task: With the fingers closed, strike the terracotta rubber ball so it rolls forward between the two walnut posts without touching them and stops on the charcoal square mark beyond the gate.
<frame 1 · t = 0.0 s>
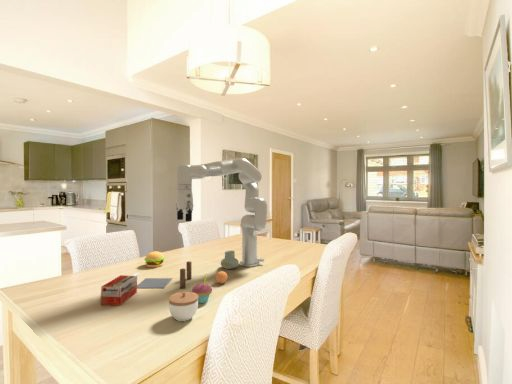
hand: (184, 220, 143), 31 cm above the table, tool pointing down, fingers open, 9 cm apart
post 2: (188, 278, 144), on the table
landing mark: (154, 283, 137), on the table
hamburger: (154, 266, 169), on the table
air freshener: (229, 268, 165), on the table
post 1: (182, 287, 131), on the table
cupcake: (201, 301, 116), on the table
ball: (221, 277, 138), on the table
lidded jar: (183, 318, 101), on the table
medicine box: (120, 299, 118), on the table
stopper wall: (130, 283, 137), on the table
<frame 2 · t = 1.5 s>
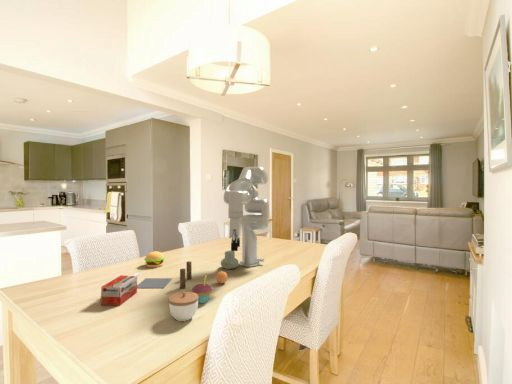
hand: (235, 248, 138), 18 cm above the table, tool pointing down, fingers open, 9 cm apart
nothing on the table moved.
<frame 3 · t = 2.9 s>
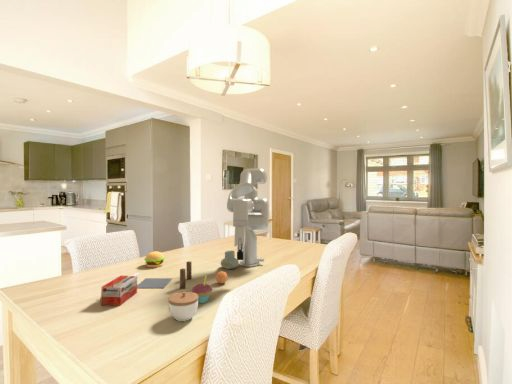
hand: (240, 259, 137), 12 cm above the table, tool pointing down, fingers closed
nothing on the table moved.
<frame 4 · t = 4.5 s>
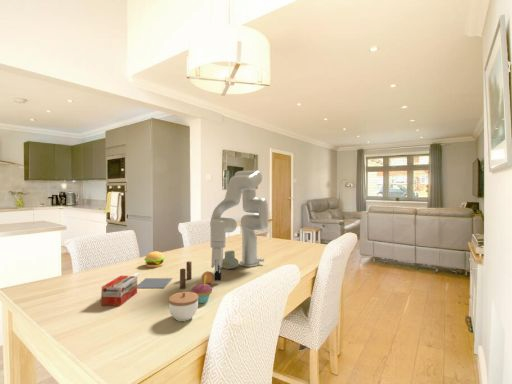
hand: (217, 279, 138), 2 cm above the table, tool pointing down, fingers closed
ball: (207, 277, 137), on the table
everything else where it was.
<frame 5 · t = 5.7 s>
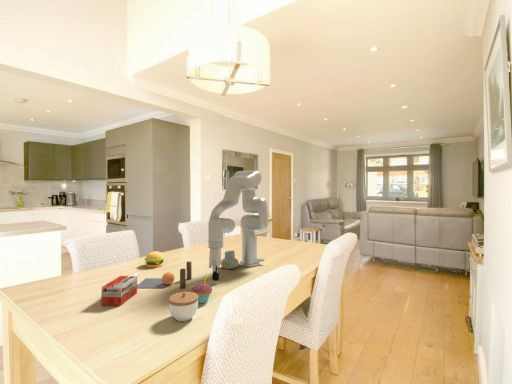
hand: (215, 280, 138), 2 cm above the table, tool pointing down, fingers closed
ball: (168, 278, 136), on the table
everything else where it was.
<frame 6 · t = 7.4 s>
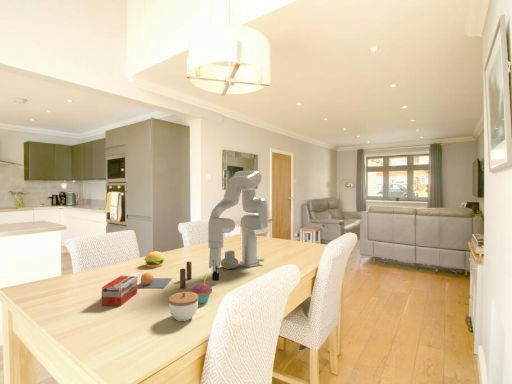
hand: (215, 280, 138), 2 cm above the table, tool pointing down, fingers closed
ball: (147, 278, 135), on the table
everything else where it was.
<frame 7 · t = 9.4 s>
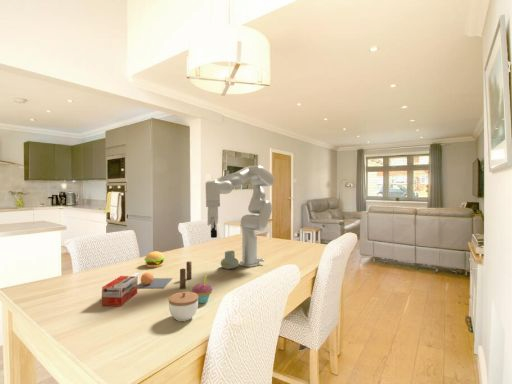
hand: (213, 237, 148), 21 cm above the table, tool pointing down, fingers closed
nothing on the table moved.
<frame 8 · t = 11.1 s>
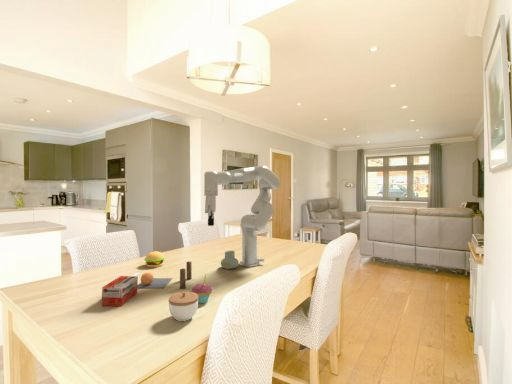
hand: (210, 225, 155), 27 cm above the table, tool pointing down, fingers closed
nothing on the table moved.
at the end: ball 3.6 cm from the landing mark (horizontally); ball never touched post 1; ball never touched post 2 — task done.
